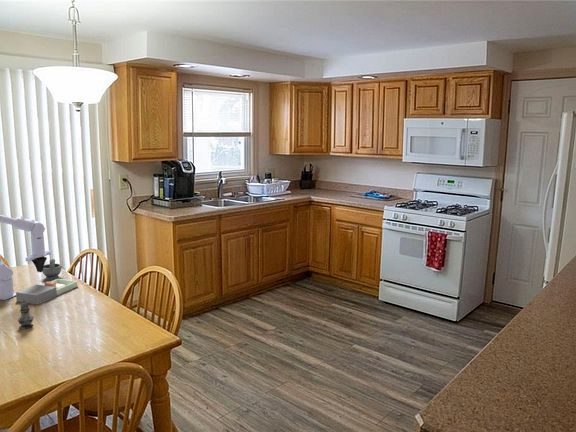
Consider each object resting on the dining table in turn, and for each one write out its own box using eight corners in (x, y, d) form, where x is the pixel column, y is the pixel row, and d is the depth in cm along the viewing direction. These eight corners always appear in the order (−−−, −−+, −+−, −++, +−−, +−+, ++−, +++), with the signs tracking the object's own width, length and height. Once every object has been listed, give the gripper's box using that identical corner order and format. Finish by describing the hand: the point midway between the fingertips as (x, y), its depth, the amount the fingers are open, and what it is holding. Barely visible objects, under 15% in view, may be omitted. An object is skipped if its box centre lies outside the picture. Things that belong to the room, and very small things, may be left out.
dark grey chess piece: (27, 330, 192) (24, 302, 190) (14, 328, 194) (12, 301, 191) (37, 324, 198) (35, 297, 196) (25, 323, 199) (22, 296, 197)
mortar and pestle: (41, 277, 259) (40, 255, 257) (60, 274, 264) (58, 253, 262) (44, 282, 250) (42, 260, 248) (63, 280, 255) (62, 258, 253)
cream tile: (56, 283, 242) (57, 287, 243) (49, 286, 237) (49, 290, 238) (64, 284, 241) (65, 288, 241) (57, 287, 236) (57, 291, 236)
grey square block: (16, 301, 223) (15, 292, 222) (36, 293, 235) (36, 284, 234) (37, 304, 220) (36, 295, 219) (56, 296, 231) (55, 287, 230)
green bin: (37, 292, 235) (37, 287, 234) (58, 284, 248) (58, 278, 248) (57, 295, 232) (56, 289, 231) (77, 286, 245) (77, 281, 244)
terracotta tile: (44, 282, 234) (47, 281, 236) (45, 292, 235) (48, 291, 237) (52, 283, 233) (55, 282, 234) (53, 293, 233) (56, 292, 235)
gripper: (32, 249, 228) (34, 276, 230) (55, 243, 241) (57, 268, 244) (21, 248, 230) (23, 275, 232) (44, 241, 243) (46, 267, 246)
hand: (40, 271), depth 238 cm, fingers closed
